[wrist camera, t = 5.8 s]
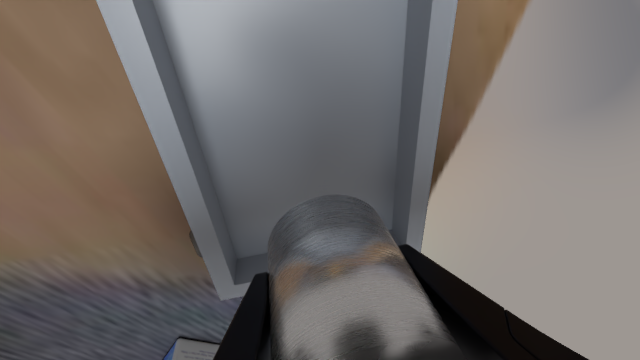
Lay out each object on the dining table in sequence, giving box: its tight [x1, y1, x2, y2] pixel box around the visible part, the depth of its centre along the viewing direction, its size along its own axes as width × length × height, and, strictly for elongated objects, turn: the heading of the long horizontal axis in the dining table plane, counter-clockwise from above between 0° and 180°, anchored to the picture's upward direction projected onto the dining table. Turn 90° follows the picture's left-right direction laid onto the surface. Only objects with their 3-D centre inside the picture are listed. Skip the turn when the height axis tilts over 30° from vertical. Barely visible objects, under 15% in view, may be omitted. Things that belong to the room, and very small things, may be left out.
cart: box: [96, 0, 458, 301], centre depth 13 cm, size 20×14×3 cm
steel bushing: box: [268, 195, 466, 360], centre depth 8 cm, size 4×4×5 cm
